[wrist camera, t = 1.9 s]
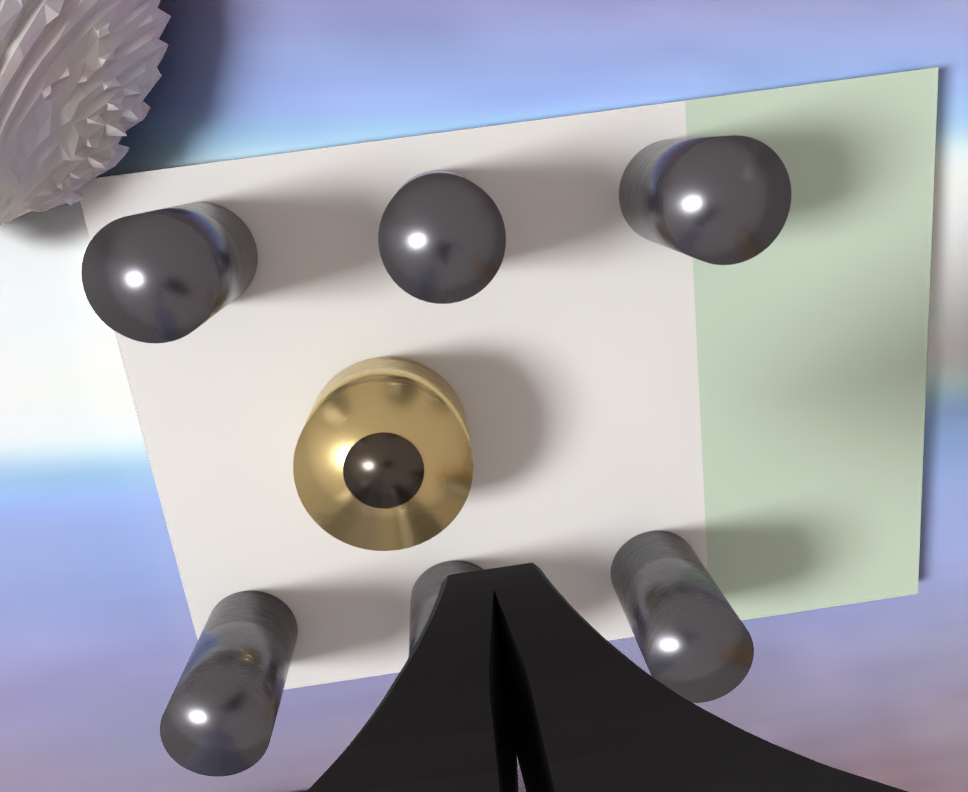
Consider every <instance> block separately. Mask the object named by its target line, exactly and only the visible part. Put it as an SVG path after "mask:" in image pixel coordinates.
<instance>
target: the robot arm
mask: <svg viewBox="0 0 968 792" xmlns="http://www.w3.org/2000/svg"><path fill="white" fill-rule="evenodd" d="M517 757H518V761H519V765H520V769H521V773H522V777H523V781H524V784H525V788H526V792H907V791H904V790H901V789H898V788H895V787H892V786H888V785H885V784H882V783H879V782H876V781H873V780H870V779H867V778H863V777H860V776H857V775H854V774H851V773H848V772H845V771H841V770H838V769H835V768H832V767H829V766H827V765H824V764H821V763H818V762H816V761H814V760H811V759H809V758H806V757H804V756H801V755H799V754H796V753H794V752H791V751H789V750H787V749H784V748H782V747H779V746H777V745H774V744H772V743H770V742H768V741H766V740H763V739H761V738H759V737H757V736H755V735H752V734H750V733H748V732H746V731H744V730H742V729H740V728H738V727H736V726H734V725H732V724H730V723H728V722H727V721H725V720H723V719H721V718H719V717H717V716H715V715H713V714H711V713H709V712H708V711H706V710H704V709H702V708H700V707H699V706H697V705H695V704H693V703H692V702H690V701H688V700H687V699H685V698H683V697H682V696H680V695H678V694H677V693H675V692H674V691H672V690H671V689H669V688H668V687H666V686H665V685H663V684H662V683H660V682H659V681H657V680H656V679H654V678H653V677H652V676H650V675H649V674H648V673H646V672H645V671H644V670H642V669H641V668H640V667H638V666H637V665H636V664H635V663H633V662H632V661H631V660H630V659H629V658H627V657H626V656H625V655H624V654H622V653H621V652H620V651H619V650H618V649H616V648H615V647H614V646H613V645H612V644H611V643H610V642H608V641H607V640H606V639H605V638H604V637H603V636H602V635H601V634H600V633H599V632H597V631H596V630H595V629H594V628H593V627H592V626H591V625H590V624H589V623H588V622H587V621H586V620H585V619H584V618H583V617H582V616H581V615H580V614H579V613H578V612H577V611H576V610H575V609H574V608H573V607H572V606H571V605H570V604H569V603H568V602H567V600H566V599H565V598H564V597H563V596H562V595H561V594H560V593H559V592H558V590H557V589H556V588H555V587H554V586H553V584H552V583H551V582H550V581H549V579H548V578H547V577H546V576H545V574H544V573H543V571H542V570H541V569H540V568H539V567H538V566H536V565H535V564H534V563H533V562H532V563H525V564H519V565H512V566H505V567H498V568H492V569H485V570H478V571H471V572H465V573H458V574H451V575H448V576H447V577H446V578H445V580H444V581H443V582H442V583H441V587H440V591H439V594H438V596H437V599H436V602H435V604H434V607H433V609H432V611H431V614H430V616H429V618H428V620H427V623H426V625H425V627H424V629H423V631H422V633H421V635H420V637H419V639H418V641H417V642H416V644H415V646H414V648H413V650H412V652H411V654H410V656H409V658H408V660H407V661H406V663H405V665H404V666H403V668H402V670H401V671H400V673H399V675H398V676H397V678H396V679H395V681H394V683H393V684H392V686H391V687H390V689H389V691H388V692H387V694H386V696H385V697H384V699H383V700H382V702H381V703H380V705H379V706H378V707H377V709H376V710H375V712H374V713H373V715H372V716H371V717H370V719H369V720H368V721H367V723H366V724H365V725H364V727H363V728H362V729H361V731H360V732H359V733H358V734H357V736H356V737H355V738H354V740H353V741H352V742H351V743H350V745H349V746H348V747H347V748H346V750H345V751H344V752H343V753H342V754H341V755H340V756H339V758H338V759H337V760H336V761H335V762H334V763H333V764H332V765H331V766H330V768H329V769H328V770H327V771H326V772H325V773H324V774H323V775H322V776H321V777H320V778H319V779H318V780H317V781H316V782H315V783H314V784H313V786H312V787H311V788H310V789H309V790H308V791H307V792H518V774H517Z"/></svg>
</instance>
